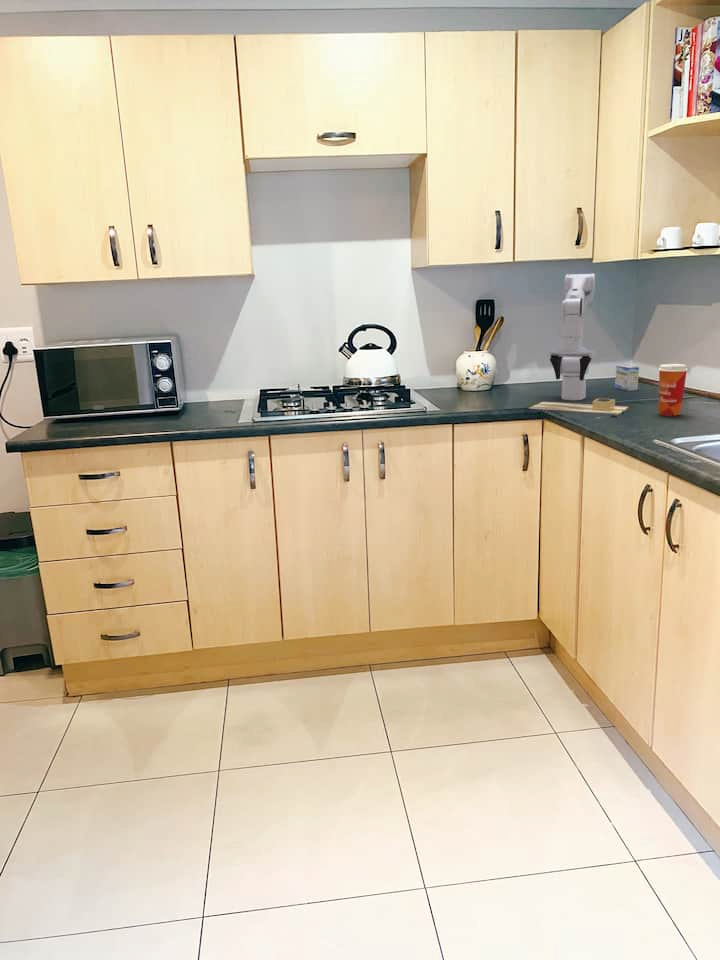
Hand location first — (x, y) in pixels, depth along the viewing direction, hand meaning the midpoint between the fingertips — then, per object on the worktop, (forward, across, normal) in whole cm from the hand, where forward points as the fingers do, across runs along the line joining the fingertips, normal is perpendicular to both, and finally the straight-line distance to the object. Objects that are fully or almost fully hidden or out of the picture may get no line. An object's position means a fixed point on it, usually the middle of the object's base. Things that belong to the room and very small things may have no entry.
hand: (569, 379), depth 233 cm
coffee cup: (+10, +31, 0) cm, 32 cm away
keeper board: (+9, +4, -3) cm, 11 cm away
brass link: (+8, +12, -3) cm, 15 cm away
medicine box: (+10, +7, +48) cm, 49 cm away
